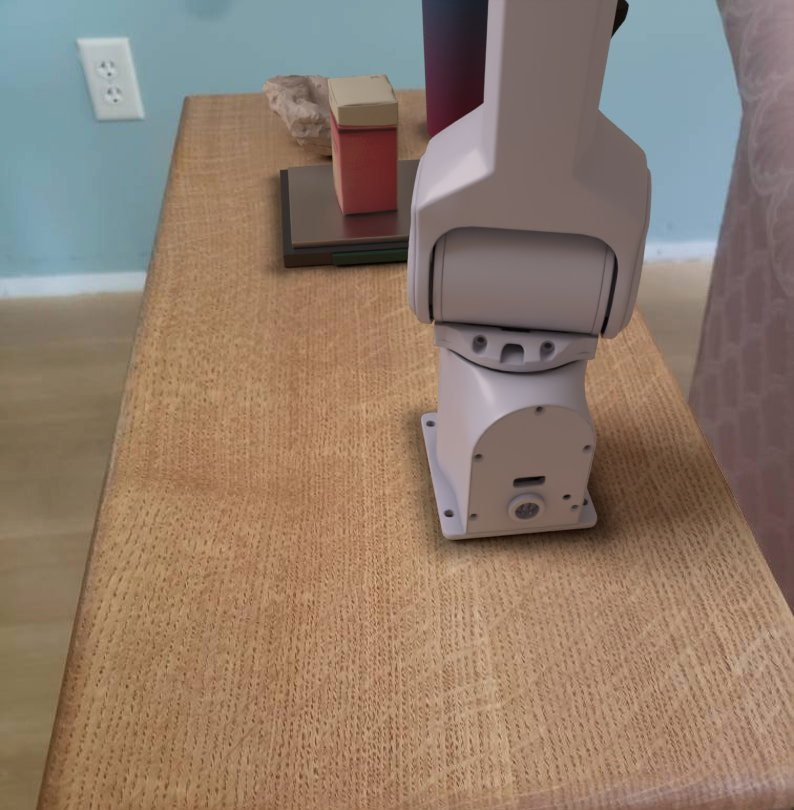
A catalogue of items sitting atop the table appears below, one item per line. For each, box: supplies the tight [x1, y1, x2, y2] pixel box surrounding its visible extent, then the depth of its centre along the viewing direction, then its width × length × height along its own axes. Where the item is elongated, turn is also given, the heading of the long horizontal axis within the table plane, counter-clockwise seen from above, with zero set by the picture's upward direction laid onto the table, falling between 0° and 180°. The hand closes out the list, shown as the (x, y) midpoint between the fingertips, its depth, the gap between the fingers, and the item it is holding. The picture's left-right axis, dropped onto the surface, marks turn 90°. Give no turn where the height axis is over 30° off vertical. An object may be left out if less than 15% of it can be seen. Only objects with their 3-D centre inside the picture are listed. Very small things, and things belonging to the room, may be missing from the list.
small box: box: [328, 73, 399, 215], centre depth 61 cm, size 5×4×8 cm
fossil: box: [262, 74, 332, 157], centre depth 73 cm, size 9×6×10 cm
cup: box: [421, 0, 489, 138], centre depth 70 cm, size 7×7×15 cm
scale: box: [279, 158, 421, 268], centre depth 65 cm, size 13×13×2 cm
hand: (541, 99), depth 54 cm, fingers open, 7 cm apart
